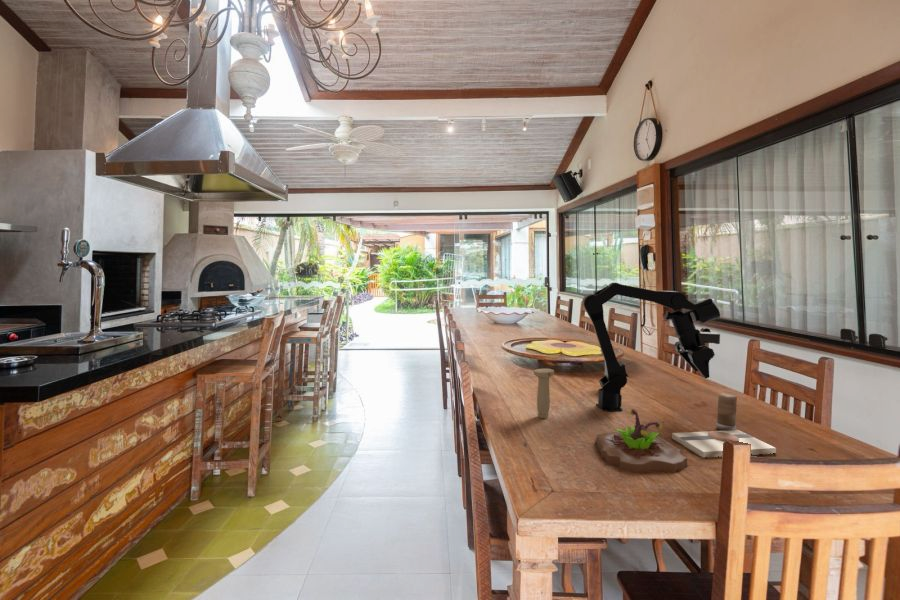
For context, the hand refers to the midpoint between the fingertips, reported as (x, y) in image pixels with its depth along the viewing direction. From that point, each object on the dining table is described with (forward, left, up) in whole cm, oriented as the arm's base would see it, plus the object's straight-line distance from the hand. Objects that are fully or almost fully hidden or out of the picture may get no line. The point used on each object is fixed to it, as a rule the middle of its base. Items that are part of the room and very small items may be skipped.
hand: (702, 374), depth 134 cm
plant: (-36, -25, -14) cm, 46 cm away
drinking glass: (-14, +29, -13) cm, 35 cm away
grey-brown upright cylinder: (-1, -12, -13) cm, 18 cm away
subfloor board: (-11, -23, -13) cm, 29 cm away
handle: (-51, +3, -13) cm, 53 cm away
